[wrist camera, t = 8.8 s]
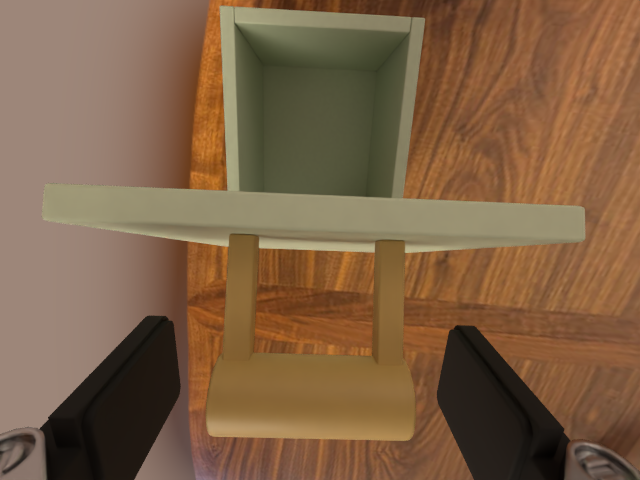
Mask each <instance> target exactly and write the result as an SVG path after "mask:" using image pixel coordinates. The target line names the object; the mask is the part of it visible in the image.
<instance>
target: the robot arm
mask: <svg viewBox="0 0 640 480" xmlns="http://www.w3.org/2000/svg"><path fill="white" fill-rule="evenodd" d="M179 394H180V377H179V369H178V359H177V351H176V341H175V333H174V324H173V322H172V321H169V320H168V318H167V317H166V316H147V317H145V318H144V319H143V320H142V322H140V323H139V325H138V326H137V327H136V328H135V329H134V330H133V331H132V332H131V333H130V334H129V335H128V336H127V337H126V338H125V339H124V340H123V341H122V342H121V343H120V344H119V345H118V346H117V347H116V348H115V349H114V350H113V351H112V352H111V354H110V355H108V356H107V358H106V359H105V360H104V361H103V362H102V363H101V364H100V365H99V366H98V367H97V368H96V369H95V370H94V371H93V372H92V373H91V374H90V375H89V376H88V377H87V378H86V379H85V380H84V381H83V382H82V383H81V384H80V385H79V386H78V387H77V388H76V389H75V390H74V392H73V393H72V394H71V395H70V396H69V397H68V398H67V399H66V400H65V401H64V402H63V403H62V404H61V405H60V406H59V407H58V408H57V409H56V410H55V411H54V412H53V413H52V414H51V415H50V416H49V417H48V419H49V420H48V421H47V422H46V423H45V424H44V425H43V426H42V427H41V428H40V429H38V428H32V427H25V428H18V429H14V430H11V431H8V432H5V433H2V434H0V480H134V479H135V477H136V475H137V473H138V471H139V469H140V468H141V466H142V464H143V462H144V460H145V458H146V457H147V455H148V453H149V451H150V449H151V447H152V445H153V443H154V442H155V440H156V438H157V436H158V434H159V432H160V430H161V429H162V427H163V425H164V423H165V421H166V419H167V417H168V416H169V414H170V412H171V410H172V408H173V406H174V404H175V403H176V401H177V399H178V397H179ZM437 400H438V404H439V406H440V408H441V410H442V412H443V415H444V417H445V419H446V421H447V423H448V425H449V427H450V429H451V432H452V434H453V436H454V438H455V440H456V442H457V444H458V446H459V448H460V451H461V453H462V455H463V457H464V459H465V461H466V463H467V465H468V468H469V470H470V472H471V474H472V476H473V478H474V480H640V471H639V470H638V469H637V468H636V467H634V466H633V465H632V464H631V463H630V462H629V461H628V460H626V459H625V458H624V457H622V456H621V455H620V454H618V453H617V452H615V451H613V450H611V449H609V448H608V447H606V446H604V445H601V444H599V443H596V442H594V441H590V440H585V439H574V440H572V441H570V440H569V438H568V437H567V436H566V435H565V434H564V428H563V427H562V426H561V425H560V423H559V422H558V421H557V420H556V419H555V418H554V416H553V415H552V414H551V413H550V412H549V411H548V410H547V408H546V407H545V406H544V405H543V404H542V403H541V402H540V400H539V399H538V398H537V397H536V396H535V395H534V393H533V392H532V391H531V390H530V389H529V388H528V387H527V385H526V384H525V383H524V382H523V381H522V380H521V379H520V377H519V376H518V375H517V374H516V373H515V372H514V370H513V369H512V368H511V367H510V366H509V365H508V364H507V362H506V361H505V360H504V359H503V358H502V357H501V356H500V354H499V353H498V352H497V351H496V350H495V349H494V347H493V346H492V345H491V344H490V343H489V342H488V341H487V339H486V338H485V337H484V336H483V335H482V334H481V333H480V331H479V330H478V329H477V328H476V327H475V326H461V325H457V326H455V328H454V330H450V331H449V335H448V340H447V345H446V350H445V355H444V360H443V365H442V370H441V375H440V380H439V385H438V390H437Z"/></svg>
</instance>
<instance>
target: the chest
mask: <svg viewBox="0 0 640 480" xmlns="http://www.w3.org/2000/svg"><path fill="white" fill-rule="evenodd" d="M424 25H425V18H418V17H412V18H411V17H401V16H384V15H367V14H350V13H333V12H316V11H299V10H283V9H266V8H249V7H235V8H234V7H233V6H220V26H221V49H222V72H223V95H224V118H225V141H226V164H227V186H228V191H243V192H266V193H289V194H312V195H336V196H359V197H382V198H403V192H404V184H405V176H406V168H407V160H408V152H409V144H410V136H411V128H412V120H413V112H414V104H415V96H416V88H417V80H418V73H419V65H420V57H421V49H422V41H423V33H424Z"/></svg>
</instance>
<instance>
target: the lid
mask: <svg viewBox="0 0 640 480" xmlns="http://www.w3.org/2000/svg"><path fill="white" fill-rule="evenodd" d="M42 218H43V219H44V220H46V221H51V222H59V223H66V224H72V225H79V226H86V227H94V228H100V229H107V230H114V231H122V232H128V233H135V234H142V235H150V236H156V237H164V238H170V239H177V240H184V241H191V242H198V243H205V244H212V245H219V246H226V247H229V248H228V266H227V284H226V302H225V320H224V338H223V353H222V354H221V355H220V356H219V357H218V359H217V361H216V364H215V366H214V369H213V372H212V375H211V379H210V383H209V388H208V394H207V402H206V426H207V431H208V433H209V435H211V436H213V437H258V438H305V439H351V440H397V441H407V440H409V439H411V438H412V436H413V433H414V429H415V421H416V401H415V391H414V385H413V380H412V376H411V373H410V370H409V367H408V365H407V363H406V361H405V360H404V359H403V325H404V276H405V253H410V252H426V251H443V250H459V249H476V248H492V247H508V246H525V245H541V244H557V243H574V242H581V241H584V240H585V209H584V207H581V206H568V205H545V204H521V203H498V202H475V201H452V200H428V199H405V198H382V197H359V196H336V195H312V194H289V193H266V192H243V191H220V190H196V189H173V188H149V187H126V186H104V185H80V184H79V185H78V184H57V183H49V184H46V185H45V188H44V197H43V209H42ZM259 248H273V249H299V250H326V251H352V252H375V262H374V300H373V338H372V356H351V355H317V354H282V353H254V335H255V315H256V295H257V275H258V255H259Z"/></svg>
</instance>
